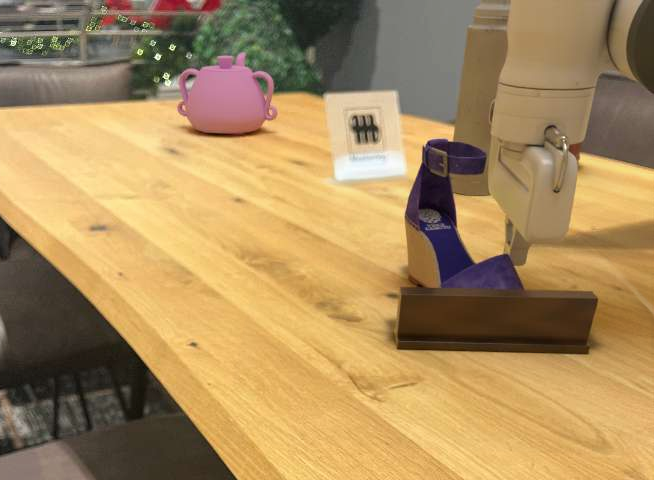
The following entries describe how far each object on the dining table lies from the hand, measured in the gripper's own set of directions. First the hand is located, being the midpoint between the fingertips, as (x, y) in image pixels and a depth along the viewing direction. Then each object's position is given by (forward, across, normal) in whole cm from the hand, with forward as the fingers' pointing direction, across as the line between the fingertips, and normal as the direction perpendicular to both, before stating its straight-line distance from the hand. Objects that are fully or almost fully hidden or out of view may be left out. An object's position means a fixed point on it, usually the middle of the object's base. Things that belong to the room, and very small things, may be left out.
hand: (513, 261), depth 81 cm
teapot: (+4, +99, +39) cm, 106 cm away
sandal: (+4, -1, +5) cm, 6 cm away
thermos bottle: (+4, +48, -4) cm, 49 cm away
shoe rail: (+4, -12, +4) cm, 13 cm away
